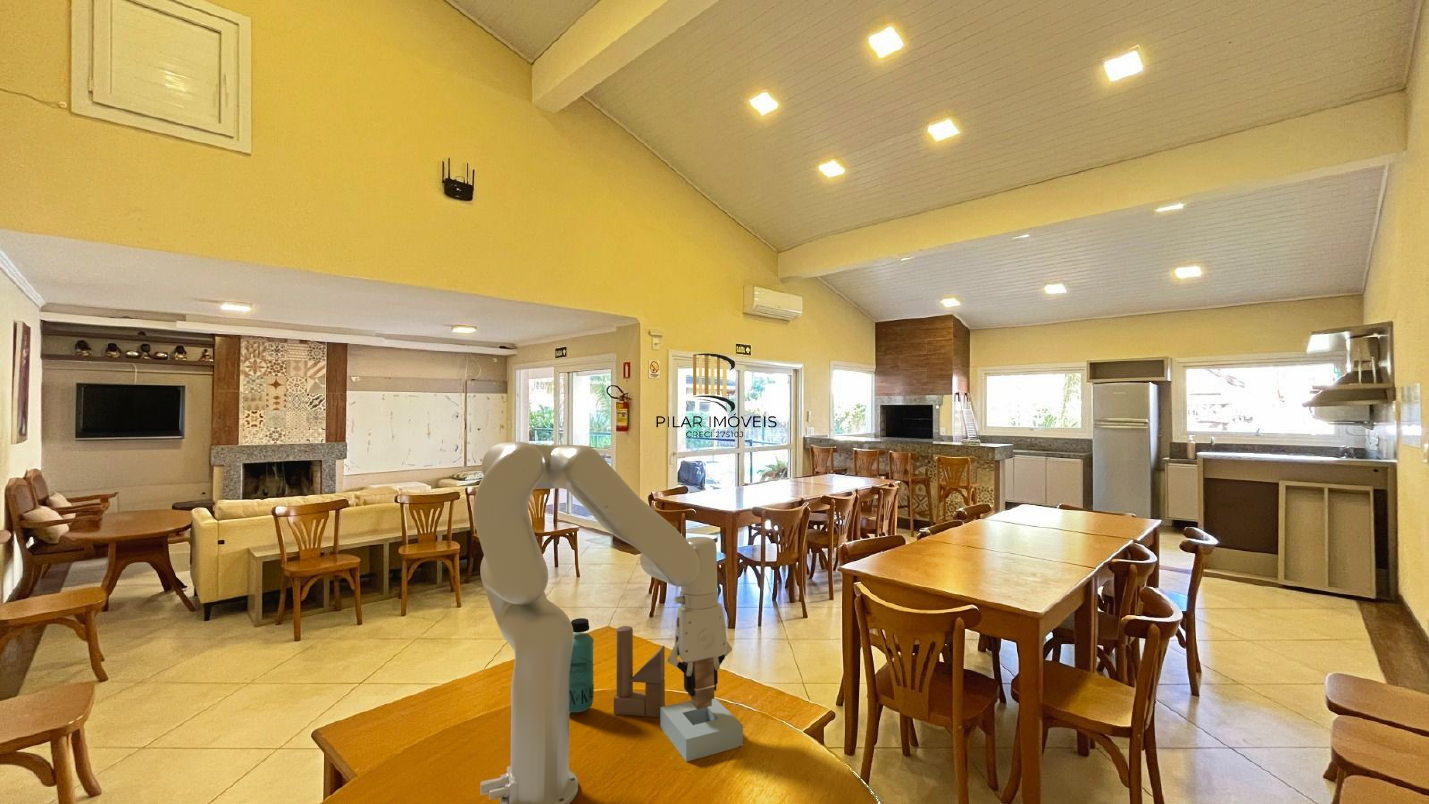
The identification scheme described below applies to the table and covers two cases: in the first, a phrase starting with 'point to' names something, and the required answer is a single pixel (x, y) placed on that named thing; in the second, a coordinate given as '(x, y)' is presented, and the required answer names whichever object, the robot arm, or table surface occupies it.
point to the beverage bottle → (581, 668)
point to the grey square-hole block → (700, 729)
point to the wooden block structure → (638, 679)
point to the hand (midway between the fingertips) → (701, 689)
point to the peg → (703, 683)
